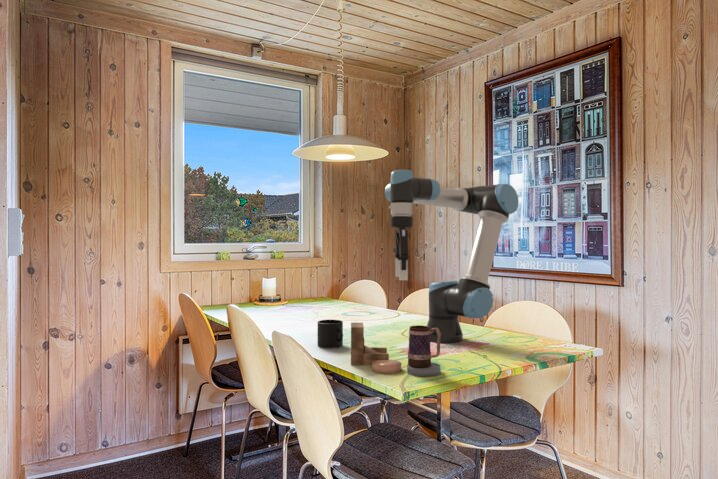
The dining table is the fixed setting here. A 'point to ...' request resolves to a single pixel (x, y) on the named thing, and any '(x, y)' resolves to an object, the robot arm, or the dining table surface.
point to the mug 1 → (330, 333)
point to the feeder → (364, 348)
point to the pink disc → (386, 366)
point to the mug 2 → (421, 346)
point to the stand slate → (425, 370)
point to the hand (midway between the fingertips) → (401, 278)
